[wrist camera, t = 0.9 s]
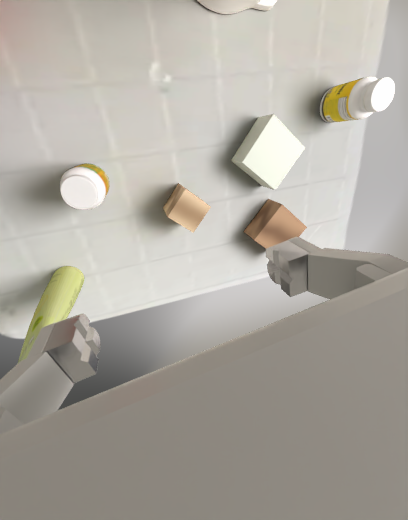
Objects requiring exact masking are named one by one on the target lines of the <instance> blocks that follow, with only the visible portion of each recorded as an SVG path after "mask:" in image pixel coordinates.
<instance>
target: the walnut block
mask: <svg viewBox="0 0 408 520" xmlns="http://www.w3.org/2000/svg"><path fill="white" fill-rule="evenodd" d="M306 228H307V227H306V226H305V225H304V224H303V223H302V222H301V221H300V220H298V219H297V218H296V217H295V216H294V215H293V214H292V213H291V212H290V211H289V210H288V209H287V208H285V207H284V206H283V205H282V204H280V203H277V202H275V201H272V200H270V199H268V200H267V202H266V203H265V204H264V206H263V207H262V208H261V209H260V211H259V212H258V213H257V215H256V216H255V217H254V219H253V220H252V221H251V222H250V224H249V225H248V226H247V228H246V229H245V230H244V233H246V234H247V235H248V236H250V237H251V238H252V239H254V240H255V241H256V242H258V243H259V244H260V245H262V246H263V247H264V248H269V247H271V246H274V245H277V244H279V243H282V242H284V241H287V240H289V239H292V238H294V237H299V236H300V235H301V234H302V232H303V231H304V230H305V229H306Z"/></svg>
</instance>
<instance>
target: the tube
mask: <svg viewBox="0 0 408 520" xmlns="http://www.w3.org/2000/svg"><path fill="white" fill-rule="evenodd" d="M83 283H84V276H83V274H82V272H81V271H80V270H79V269H77V268H75V267H71V266H64V267H61V268H59V269H57V270H56V271H55V273H54V274H53V276H52V278H51V280H50V281H49V283H48V285H47V287H46V289H45V291H44V293H43V295H42V297H41V299H40V302H39V304H38V306H37V308H36V311H35V313H34V316H33V318H32V321H31V324H30V326H29V329H28V332H27V335H26V338H25V341H24V344H23V347H22V351H21V354H20V358H19V361H18V363H19V362H20V361H22V360H24V359H26V358H27V356H28V354H29V352H30V350H31V348H32V346H33V344H34V342H35V340H36V338H37V336H38V334H39V332H40V330H41V328H43V327H45V326H47V325H50V324H53V323H55V322H59V321H62V320H65V319H66V318H67V317H68V315H69V313H70V311H71V309H72V307H73V305H74V303H75V301H76V299H77V297H78V294H79V292H80V290H81V288H82V285H83Z"/></svg>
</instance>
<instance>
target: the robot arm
mask: <svg viewBox="0 0 408 520" xmlns="http://www.w3.org/2000/svg"><path fill="white" fill-rule="evenodd" d="M197 1H198V2H199V3H201V4H202V5H203V6H205V7H206V8H208V9H210V10H212V11H214V12H217V13H221V14H233V13H237V12H240V11H243V10H245V9H248V8H254V9H258V10H263V11H267V10H270V9H271V8H272V7H273V6H274V4H275V3H276V1H277V0H197ZM266 257H267V258H268V259H269V262H268V264H267V269H268V273H269V275H270V278H271V279H272V280H273V281H274V282H275V283H276V284H280V285H281V289H282V290H283V291H284V292H286V294H287V295H289V296H290V297H292V296H295V295H297V294H300V293H303V292H305V291H309V292H311V293H314V294H317V295H319V296H322V297H325V298H328V299H330V300H328V301H325V302H323V303H321V304H318V305H316V306H313V307H311V308H308V309H306V310H304V311H301V312H298V313H296V314H294V315H291V316H289V317H286V318H284V319H281V320H279V321H276V322H274V323H271V324H269V325H267V326H264V327H262V328H259V329H257V330H255V331H252V332H249V333H247V334H245V335H242V336H240V337H237V338H235V339H232V340H230V341H228V342H225V343H223V344H220V345H218V346H215V347H213V348H211V349H208V350H206V351H203V352H200V353H198V354H196V355H193V356H191V357H188V358H186V359H183V360H181V361H178V362H176V363H173V364H171V365H169V366H166V367H164V368H161V369H159V370H156V371H154V372H151V373H149V374H146V375H144V376H142V377H139V378H137V379H134V380H132V381H129V382H127V383H125V384H122V385H120V386H117V387H115V388H112V389H110V390H107V391H105V392H102V393H100V394H98V395H95V396H93V397H90V398H88V399H85V400H83V401H81V402H78V403H75V404H73V405H70V406H68V407H66V408H63V409H61V410H58V408H59V407H60V405H61V404H62V402H63V400H64V399H65V397H66V396H67V394H68V393H69V391H70V390H71V388H72V386H73V385H74V384H73V383H76V382H78V381H80V380H83V379H85V378H87V377H90V376H92V375H94V374H96V373H97V366H98V360H99V359H98V358H97V356H96V355H97V354H98V352H99V351H100V345H101V344H100V338H99V335H98V333H97V331H96V330H95V329H94V328H92V327H90V326H89V322H90V320H89V319H88V318H87V316H86V315H85V314H80V315H77V316H74V317H71V318H68V319H65V320H62V321H59V322H55V323H53V324H50V325H47V326H45V327H43V328H41V330H40V332H39V334H38V336H37V338H36V340H35V342H34V344H33V346H32V348H31V350H30V352H29V354H28V356H27V358H26V359H24V360H22V361H20V362H19V363H18V364H17V365H16V366H15V367H14V368H13V369H12V370H11V371H9V372H8V373H7V374H6V375H5V376H4V377H3V378H2V379H1V380H0V520H408V262H406V261H403V260H401V259H399V258H396V257H394V256H392V255H389V254H380V253H370V252H360V251H349V250H339V249H329V248H324V249H320V248H319V247H317V246H315V245H313V244H311V243H309V242H307V241H305V240H303V239H301V238H300V237H294V238H292V239H289V240H287V241H284V242H282V243H279V244H277V245H274V246H271V247H269V248H266ZM57 410H58V411H57Z"/></svg>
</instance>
